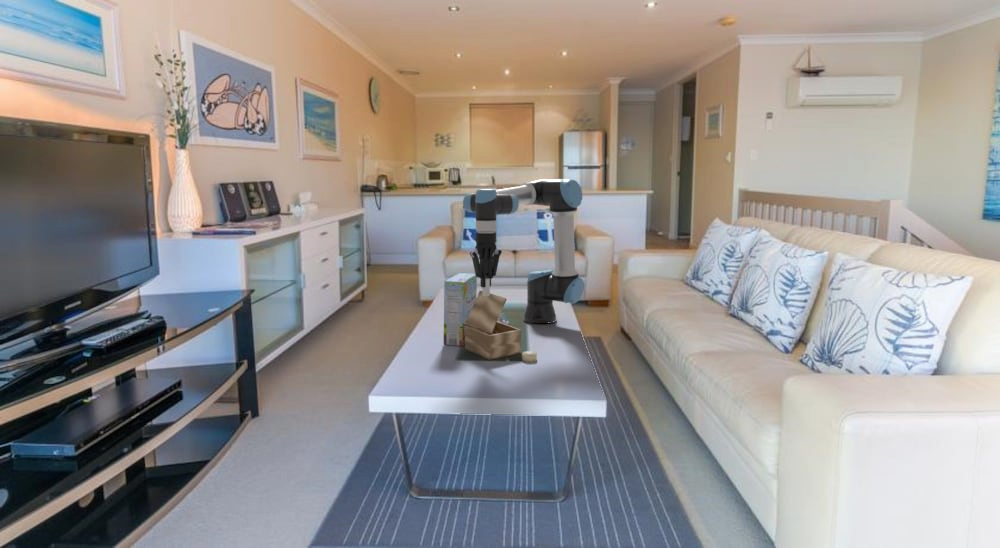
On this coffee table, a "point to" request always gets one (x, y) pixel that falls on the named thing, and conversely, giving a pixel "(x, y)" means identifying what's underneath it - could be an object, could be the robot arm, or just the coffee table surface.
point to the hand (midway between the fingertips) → (485, 295)
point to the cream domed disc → (529, 356)
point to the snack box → (458, 306)
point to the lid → (485, 312)
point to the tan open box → (493, 341)
